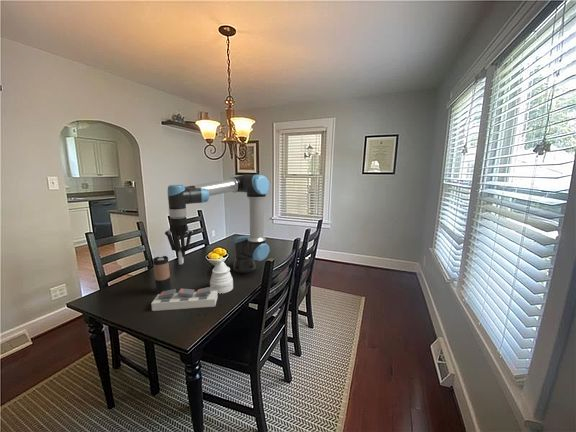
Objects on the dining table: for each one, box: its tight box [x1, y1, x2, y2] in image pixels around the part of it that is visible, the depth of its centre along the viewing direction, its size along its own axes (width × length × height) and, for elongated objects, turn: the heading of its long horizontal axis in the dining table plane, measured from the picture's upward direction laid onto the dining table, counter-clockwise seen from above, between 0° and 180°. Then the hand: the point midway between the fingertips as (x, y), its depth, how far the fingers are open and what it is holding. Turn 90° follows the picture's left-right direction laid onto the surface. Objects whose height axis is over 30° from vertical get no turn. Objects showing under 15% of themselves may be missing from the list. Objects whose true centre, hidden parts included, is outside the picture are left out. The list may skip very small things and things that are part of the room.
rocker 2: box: [196, 286, 212, 297], centre depth 129 cm, size 7×5×2 cm
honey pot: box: [209, 259, 234, 295], centre depth 143 cm, size 13×13×18 cm
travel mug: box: [152, 255, 172, 295], centre depth 139 cm, size 8×8×20 cm
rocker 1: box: [158, 288, 177, 299], centre depth 127 cm, size 7×5×2 cm
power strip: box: [150, 291, 219, 312], centre depth 128 cm, size 30×9×4 cm, turn 98°
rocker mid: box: [177, 288, 196, 297], centre depth 128 cm, size 7×5×2 cm
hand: (181, 263), depth 124 cm, fingers closed
